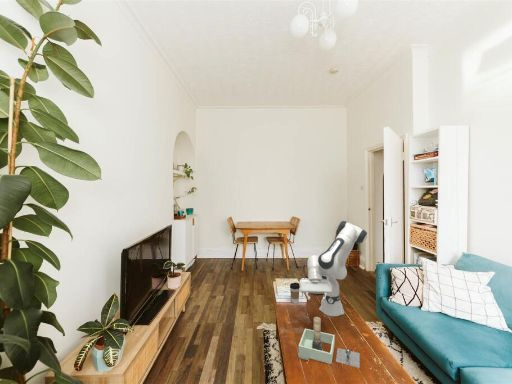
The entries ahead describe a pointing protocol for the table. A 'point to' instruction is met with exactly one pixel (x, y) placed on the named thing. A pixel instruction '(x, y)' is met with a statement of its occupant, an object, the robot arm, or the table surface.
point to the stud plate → (348, 357)
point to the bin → (309, 352)
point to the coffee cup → (294, 292)
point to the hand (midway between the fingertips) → (316, 300)
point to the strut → (317, 334)
